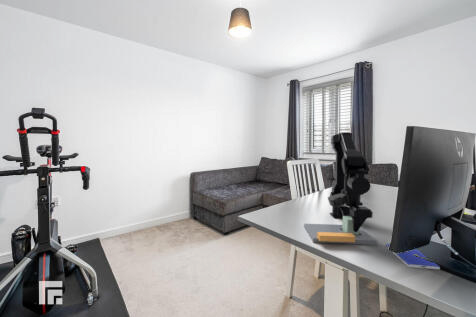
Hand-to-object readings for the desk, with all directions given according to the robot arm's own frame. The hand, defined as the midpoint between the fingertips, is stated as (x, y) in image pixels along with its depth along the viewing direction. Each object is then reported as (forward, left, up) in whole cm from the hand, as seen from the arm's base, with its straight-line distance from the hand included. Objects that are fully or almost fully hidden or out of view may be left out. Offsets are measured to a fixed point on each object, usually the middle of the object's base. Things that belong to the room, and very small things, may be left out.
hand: (350, 227), depth 83 cm
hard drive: (+15, +12, -4) cm, 19 cm away
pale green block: (0, 0, -3) cm, 3 cm away
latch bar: (+8, -9, -2) cm, 12 cm away
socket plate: (0, -5, -3) cm, 6 cm away
